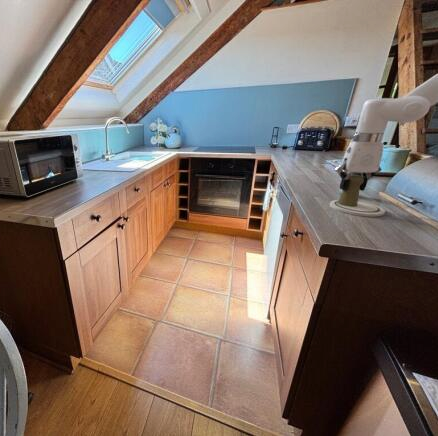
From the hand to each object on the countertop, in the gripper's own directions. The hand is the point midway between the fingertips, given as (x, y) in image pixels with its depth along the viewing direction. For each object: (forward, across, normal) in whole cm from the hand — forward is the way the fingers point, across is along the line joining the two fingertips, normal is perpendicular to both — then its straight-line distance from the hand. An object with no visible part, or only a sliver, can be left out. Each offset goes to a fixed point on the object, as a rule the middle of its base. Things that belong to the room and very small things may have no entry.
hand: (351, 189), depth 90 cm
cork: (+6, 0, 0) cm, 6 cm away
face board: (+7, +2, -2) cm, 8 cm away
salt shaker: (+7, +11, +16) cm, 21 cm away
